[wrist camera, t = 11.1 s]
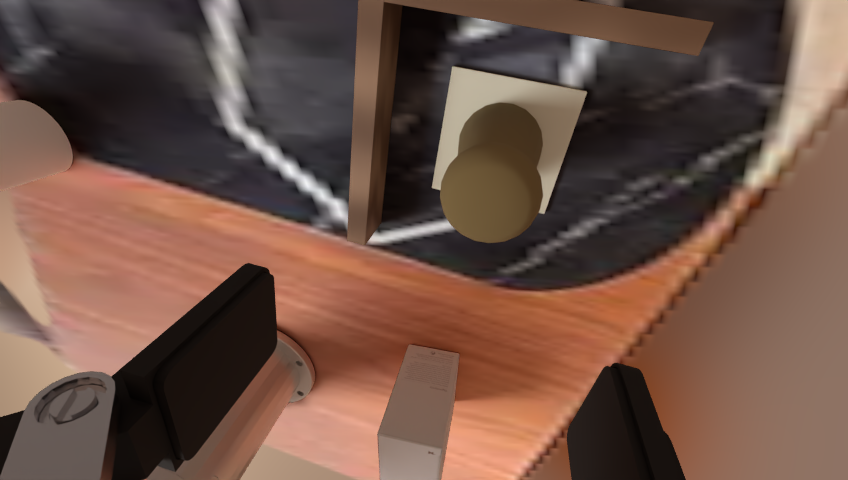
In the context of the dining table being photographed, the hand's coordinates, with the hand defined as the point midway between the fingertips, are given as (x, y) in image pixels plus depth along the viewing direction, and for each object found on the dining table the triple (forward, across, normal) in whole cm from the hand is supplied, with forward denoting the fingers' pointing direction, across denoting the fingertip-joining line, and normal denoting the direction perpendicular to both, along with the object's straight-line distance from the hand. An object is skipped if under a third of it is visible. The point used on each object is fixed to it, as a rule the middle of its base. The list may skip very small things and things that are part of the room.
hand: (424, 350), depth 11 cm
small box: (+21, 0, +25) cm, 33 cm away
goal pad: (+21, -1, -1) cm, 21 cm away
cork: (+20, -1, -1) cm, 20 cm away
